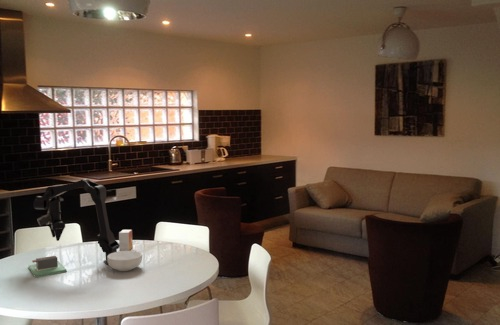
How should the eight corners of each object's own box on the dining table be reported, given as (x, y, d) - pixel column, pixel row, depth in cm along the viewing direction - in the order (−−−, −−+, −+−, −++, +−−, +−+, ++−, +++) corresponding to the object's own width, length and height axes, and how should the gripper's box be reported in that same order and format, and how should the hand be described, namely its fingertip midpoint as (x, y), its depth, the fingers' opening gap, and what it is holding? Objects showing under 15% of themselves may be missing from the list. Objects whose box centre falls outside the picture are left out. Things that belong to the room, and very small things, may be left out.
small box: (129, 251, 275) (128, 232, 274) (119, 251, 275) (118, 232, 274) (132, 247, 283) (132, 229, 282) (123, 247, 283) (122, 229, 282)
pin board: (66, 271, 239) (66, 263, 239) (35, 277, 231) (35, 268, 231) (57, 262, 254) (57, 254, 254) (28, 267, 246) (28, 259, 246)
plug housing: (57, 266, 243) (57, 257, 243) (33, 270, 237) (33, 261, 237) (55, 264, 247) (55, 255, 246) (32, 268, 241) (31, 259, 240)
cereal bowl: (133, 275, 233) (133, 260, 232) (101, 273, 236) (100, 258, 236) (148, 264, 250) (147, 250, 249) (117, 263, 253) (117, 249, 252)
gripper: (34, 208, 261) (35, 237, 263) (41, 214, 246) (43, 245, 247) (56, 206, 267) (57, 234, 269) (64, 211, 252) (66, 241, 253)
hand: (55, 238), depth 259 cm, fingers open, 9 cm apart
